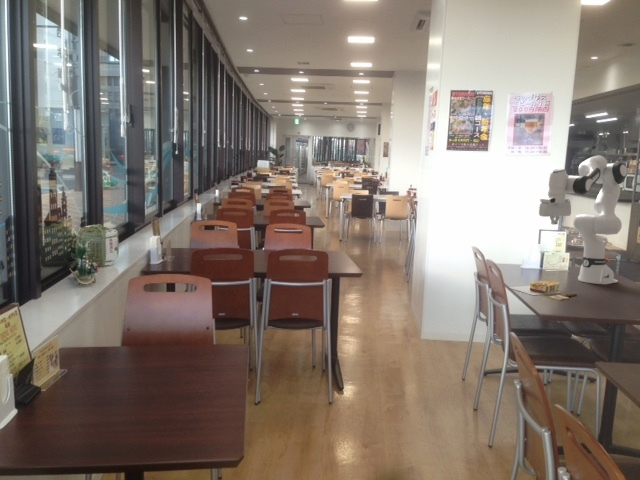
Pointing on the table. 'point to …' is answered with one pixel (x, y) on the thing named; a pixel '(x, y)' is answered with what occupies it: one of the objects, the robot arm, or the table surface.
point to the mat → (527, 290)
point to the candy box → (544, 286)
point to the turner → (563, 296)
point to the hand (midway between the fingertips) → (554, 224)
